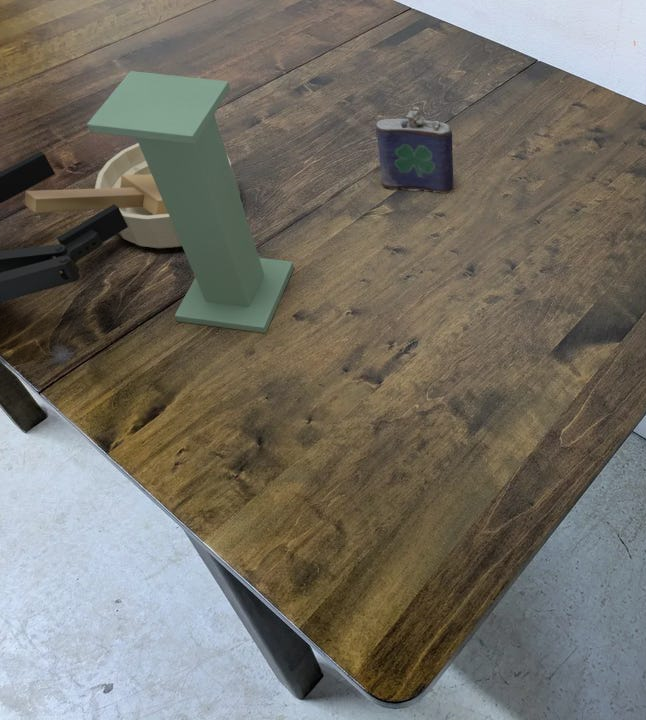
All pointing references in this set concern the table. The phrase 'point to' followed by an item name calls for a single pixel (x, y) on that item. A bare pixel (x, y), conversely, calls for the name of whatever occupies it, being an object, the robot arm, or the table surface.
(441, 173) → the flask
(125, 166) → the bowl
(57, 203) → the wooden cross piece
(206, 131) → the pedestal stand
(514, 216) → the table surface
